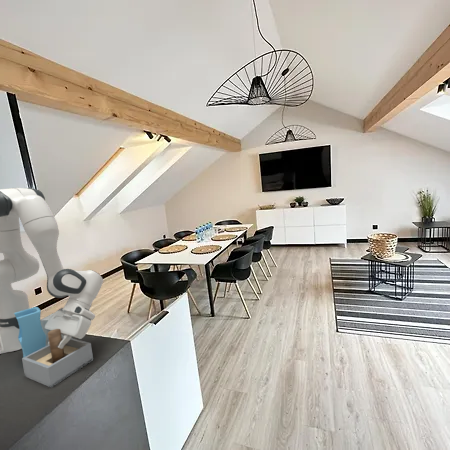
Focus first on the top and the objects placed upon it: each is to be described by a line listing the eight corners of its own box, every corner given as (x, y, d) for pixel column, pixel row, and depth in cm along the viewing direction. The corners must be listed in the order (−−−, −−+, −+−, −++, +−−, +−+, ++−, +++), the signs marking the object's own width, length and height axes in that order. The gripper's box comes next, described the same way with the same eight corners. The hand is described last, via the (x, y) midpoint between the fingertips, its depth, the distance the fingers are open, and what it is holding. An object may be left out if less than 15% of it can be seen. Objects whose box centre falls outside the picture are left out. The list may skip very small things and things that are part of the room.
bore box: (25, 376, 99) (21, 358, 98) (67, 352, 113) (65, 336, 112) (51, 387, 92) (47, 368, 91) (93, 360, 106) (90, 343, 105)
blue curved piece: (22, 360, 110) (13, 313, 108) (45, 351, 115) (37, 306, 113) (25, 368, 104) (16, 318, 102) (49, 358, 110) (41, 310, 108)
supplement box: (57, 348, 117) (53, 320, 116) (43, 348, 119) (38, 320, 117) (70, 339, 124) (66, 312, 123) (57, 338, 126) (52, 312, 124)
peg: (50, 364, 101) (45, 333, 100) (61, 357, 105) (56, 328, 104) (57, 366, 100) (51, 335, 98) (67, 360, 103) (62, 329, 102)
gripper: (53, 304, 111) (31, 339, 104) (86, 310, 101) (64, 349, 94) (65, 310, 115) (45, 344, 108) (98, 316, 106) (78, 354, 98)
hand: (54, 346), depth 101 cm, fingers closed on peg, 4 cm apart
